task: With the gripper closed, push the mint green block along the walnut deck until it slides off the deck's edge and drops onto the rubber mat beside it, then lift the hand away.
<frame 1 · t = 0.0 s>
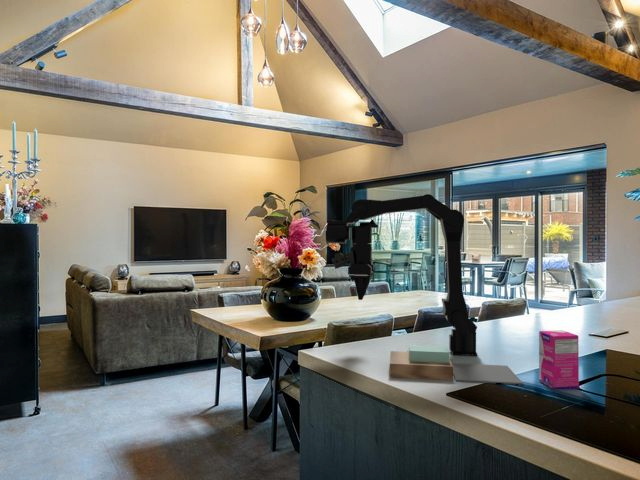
hand: (361, 297, 131), 15 cm above the counter, fingers open, 9 cm apart
mat: (483, 373, 107), on the counter
mint green block: (428, 353, 109), point 4 cm above the counter, touching deck
deck: (419, 370, 109), on the counter
supplement box: (558, 386, 99), on the counter
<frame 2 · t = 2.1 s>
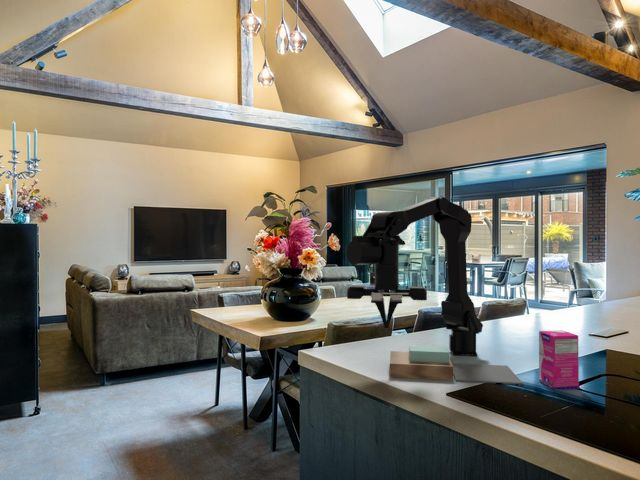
hand: (386, 328, 111), 10 cm above the counter, fingers closed
nothing on the counter moved.
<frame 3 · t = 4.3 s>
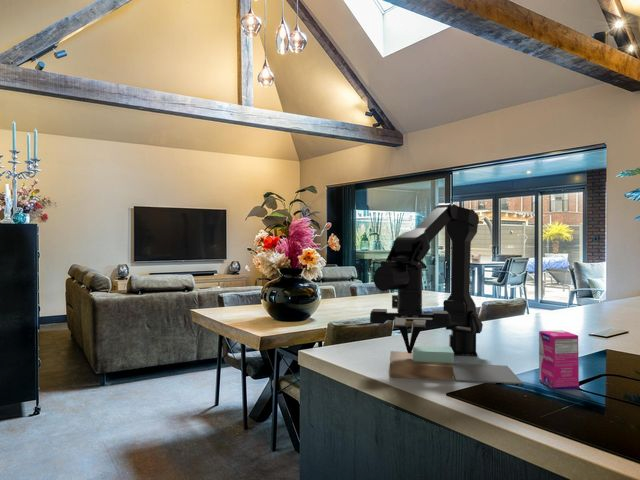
hand: (409, 353, 110), 4 cm above the counter, fingers closed
mint green block: (432, 353, 109), point 4 cm above the counter, touching deck, gripper
everything else where it was.
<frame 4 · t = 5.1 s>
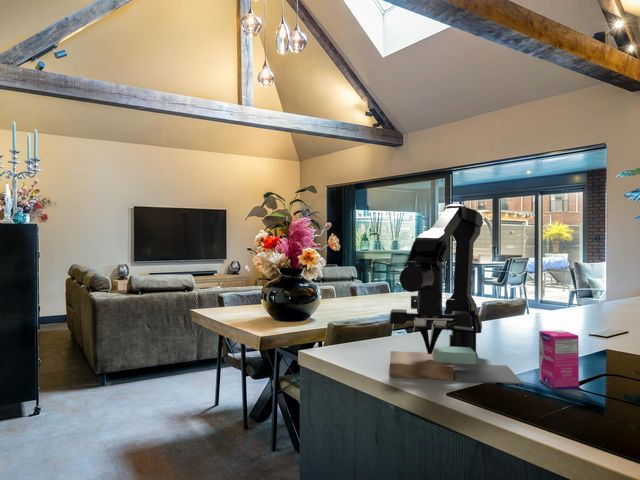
hand: (429, 353, 109), 4 cm above the counter, fingers closed
mint green block: (453, 354, 108), point 4 cm above the counter, touching deck, gripper
everything else where it was.
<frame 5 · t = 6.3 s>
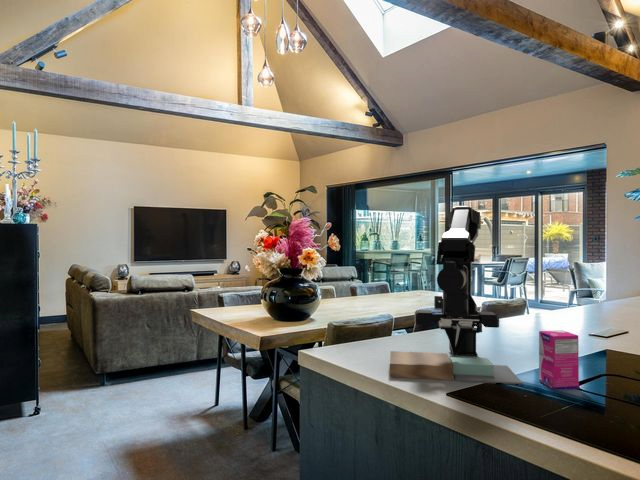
hand: (455, 354, 108), 4 cm above the counter, fingers closed
mint green block: (470, 366, 108), point 2 cm above the counter, touching mat
everything else where it was.
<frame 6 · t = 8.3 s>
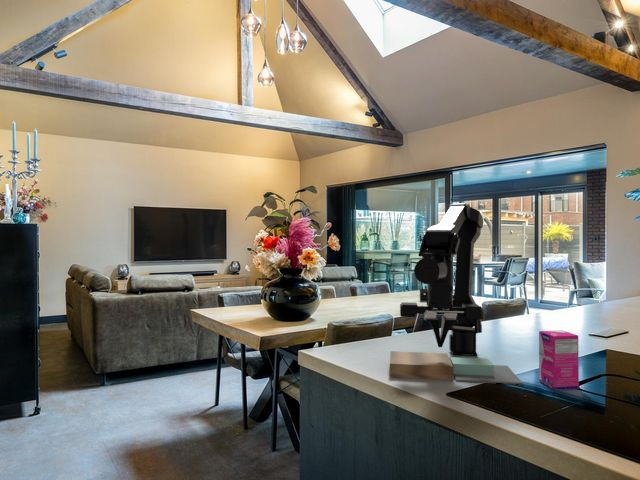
hand: (440, 346, 108), 6 cm above the counter, fingers closed
nothing on the counter moved.
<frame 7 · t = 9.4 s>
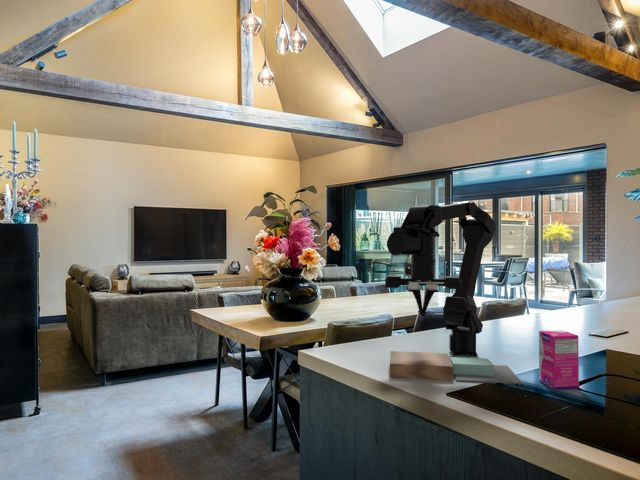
hand: (422, 316, 116), 12 cm above the counter, fingers closed
nothing on the counter moved.
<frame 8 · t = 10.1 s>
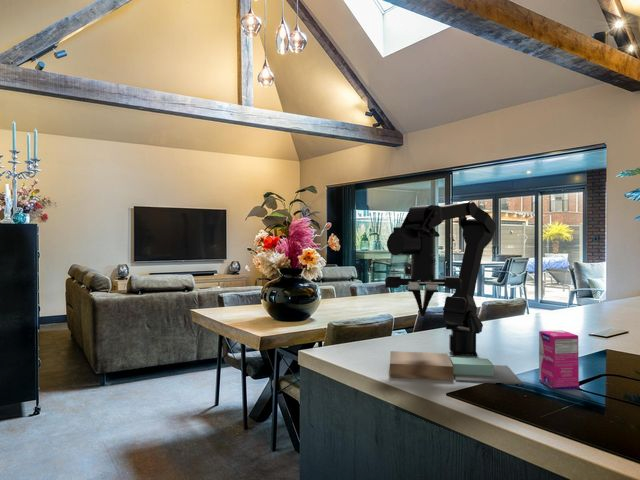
hand: (422, 316, 116), 12 cm above the counter, fingers closed
nothing on the counter moved.
at the end: mint green block point 1.6 cm above the counter; mint green block inside the target area on the mat (2.7 cm from its centre), point 1.6 cm above the mat's base; mint green block touching mat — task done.
